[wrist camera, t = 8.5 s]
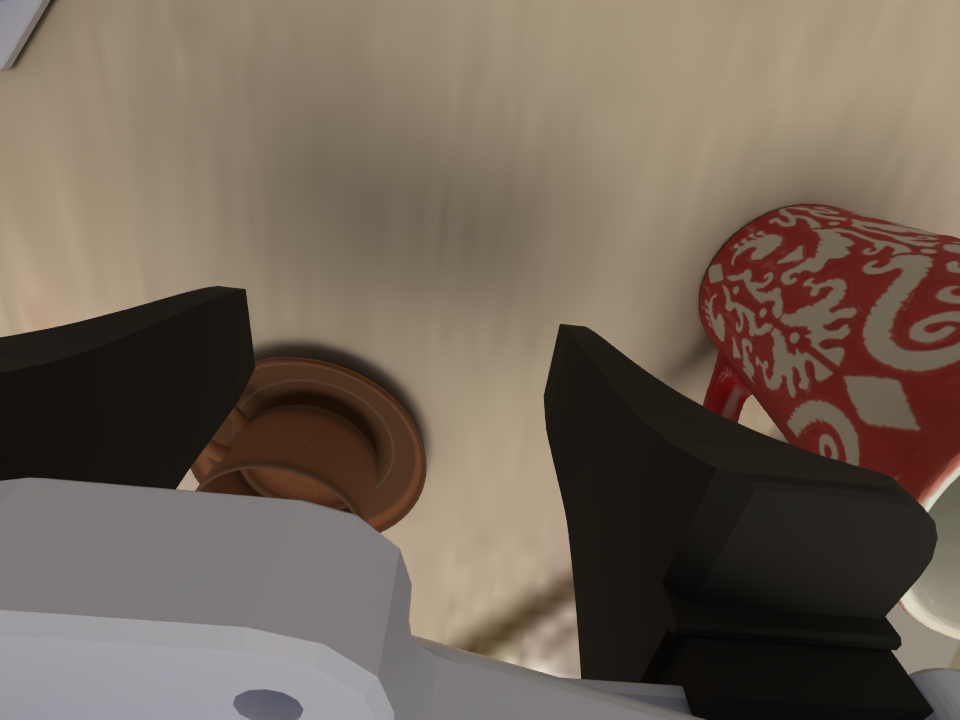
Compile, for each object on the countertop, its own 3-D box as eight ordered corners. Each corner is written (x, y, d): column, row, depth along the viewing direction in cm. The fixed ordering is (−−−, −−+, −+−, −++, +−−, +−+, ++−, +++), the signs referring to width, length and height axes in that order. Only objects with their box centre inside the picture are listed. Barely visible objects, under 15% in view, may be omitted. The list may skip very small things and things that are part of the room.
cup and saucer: (169, 456, 27) (92, 550, 22) (259, 293, 22) (189, 362, 17) (360, 544, 31) (334, 643, 25) (474, 420, 26) (472, 510, 20)
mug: (830, 123, 19) (1423, 206, 7) (928, 280, 22) (1450, 521, 10) (575, 338, 23) (671, 606, 11) (686, 442, 26) (851, 735, 15)
